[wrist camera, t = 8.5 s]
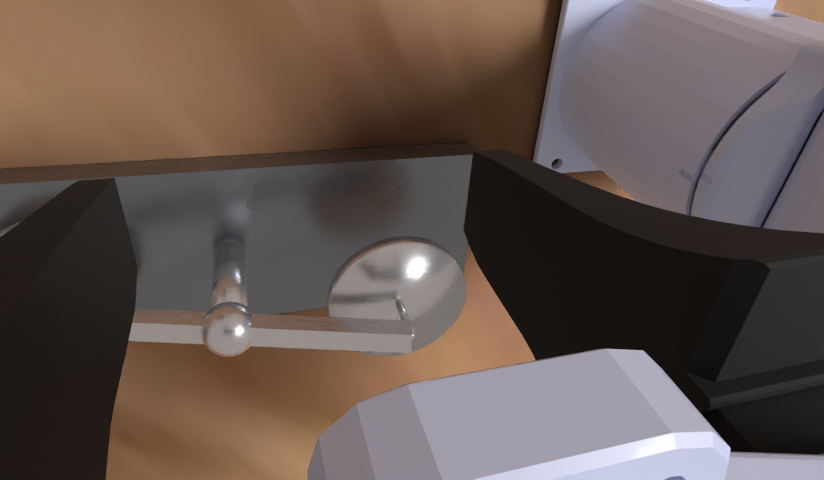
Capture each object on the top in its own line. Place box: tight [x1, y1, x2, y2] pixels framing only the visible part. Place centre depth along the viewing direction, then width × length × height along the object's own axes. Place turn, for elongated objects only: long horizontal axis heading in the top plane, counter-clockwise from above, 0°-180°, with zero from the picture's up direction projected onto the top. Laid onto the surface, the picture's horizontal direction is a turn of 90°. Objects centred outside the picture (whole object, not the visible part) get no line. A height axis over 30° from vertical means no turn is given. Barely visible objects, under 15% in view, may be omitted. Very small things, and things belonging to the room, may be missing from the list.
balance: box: [0, 142, 476, 357], centre depth 20 cm, size 20×7×8 cm, turn 87°
